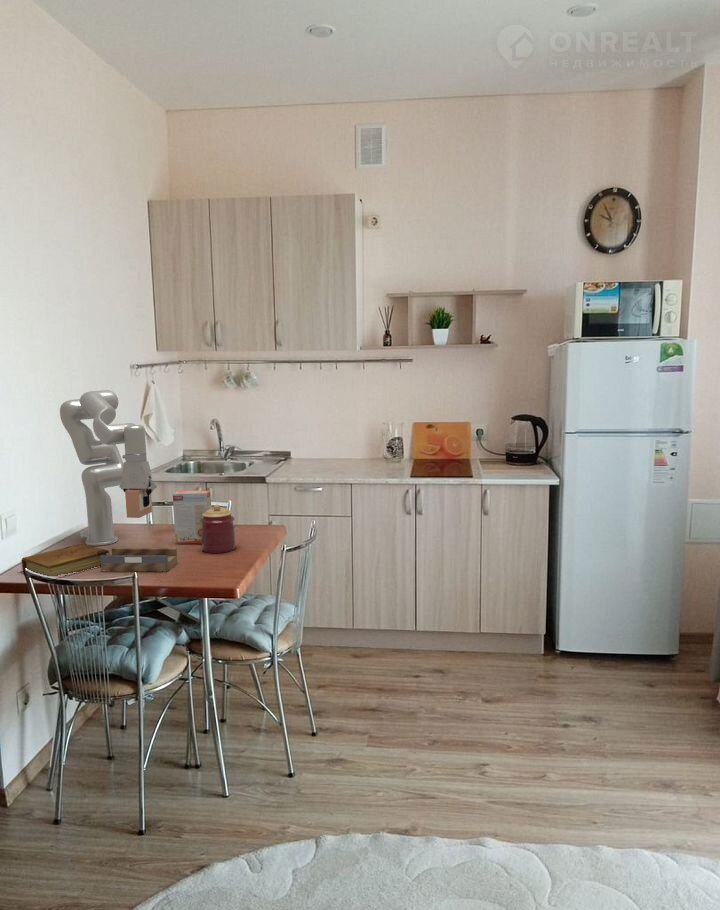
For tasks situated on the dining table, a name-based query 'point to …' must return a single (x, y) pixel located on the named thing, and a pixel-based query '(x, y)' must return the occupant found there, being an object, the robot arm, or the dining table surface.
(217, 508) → the canister
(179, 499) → the cracker box
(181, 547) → the dining table surface
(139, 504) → the carton
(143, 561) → the wooden storage tray
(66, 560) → the diary
